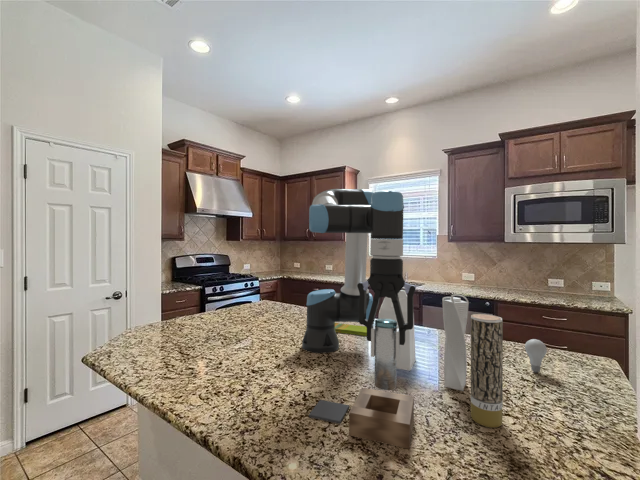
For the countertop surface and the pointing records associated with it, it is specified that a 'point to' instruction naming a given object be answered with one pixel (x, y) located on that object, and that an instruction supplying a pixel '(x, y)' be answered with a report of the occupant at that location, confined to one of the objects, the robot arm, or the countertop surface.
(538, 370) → the lightbulb
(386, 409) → the housing
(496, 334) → the bark-print cylinder
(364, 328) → the dish towel
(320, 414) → the mat
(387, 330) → the teal-capped metal cylinder
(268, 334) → the countertop surface
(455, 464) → the countertop surface
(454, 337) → the skyscraper
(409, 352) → the milk
